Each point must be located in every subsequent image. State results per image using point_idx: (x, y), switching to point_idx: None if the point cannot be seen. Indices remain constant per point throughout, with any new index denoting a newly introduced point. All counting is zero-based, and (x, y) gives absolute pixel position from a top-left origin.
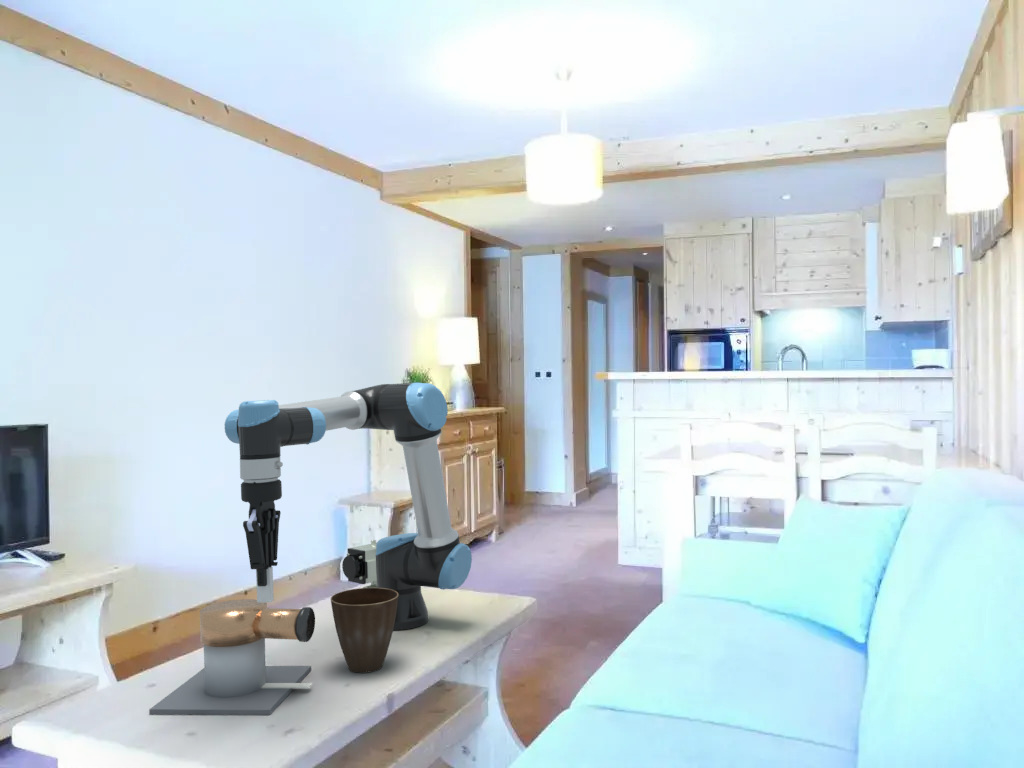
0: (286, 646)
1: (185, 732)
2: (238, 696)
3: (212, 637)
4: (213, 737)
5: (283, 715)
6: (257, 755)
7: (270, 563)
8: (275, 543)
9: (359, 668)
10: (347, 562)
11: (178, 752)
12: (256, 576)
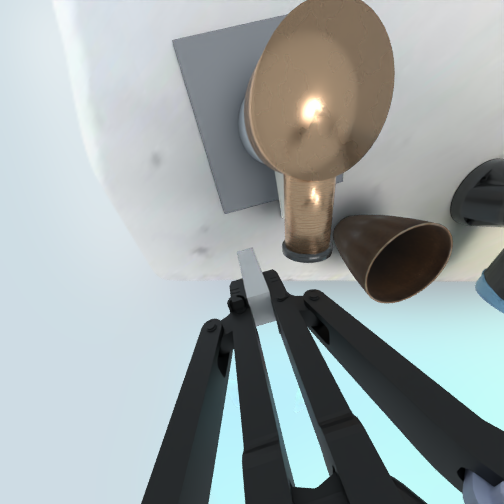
0: (427, 88)
1: (155, 149)
2: (246, 153)
3: (246, 107)
4: (160, 191)
5: (228, 225)
6: (151, 255)
7: (277, 324)
8: (341, 363)
9: (334, 236)
10: None
11: (115, 180)
12: (244, 284)
